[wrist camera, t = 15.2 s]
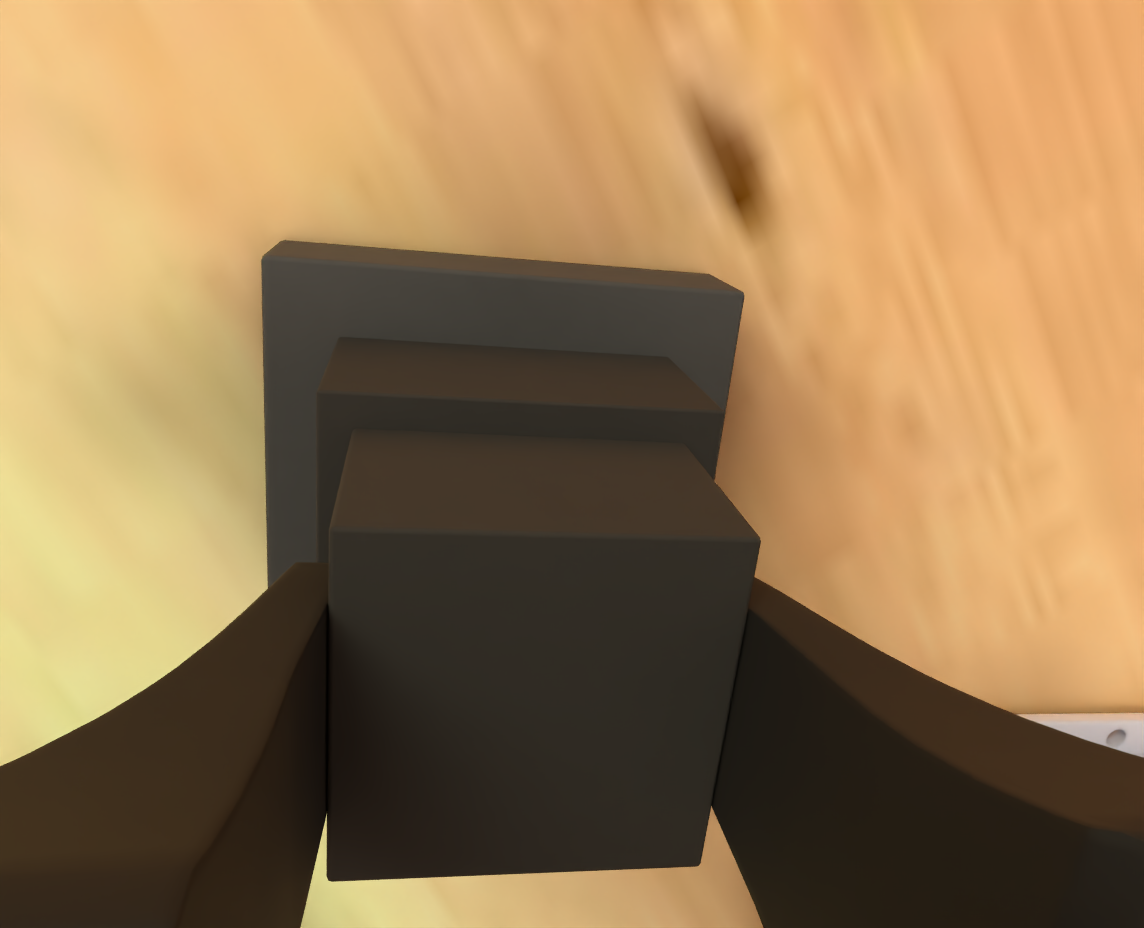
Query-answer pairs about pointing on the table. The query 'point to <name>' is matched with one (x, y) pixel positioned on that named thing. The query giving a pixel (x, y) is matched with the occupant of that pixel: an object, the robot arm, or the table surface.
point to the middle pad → (501, 401)
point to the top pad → (527, 654)
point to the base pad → (457, 336)
